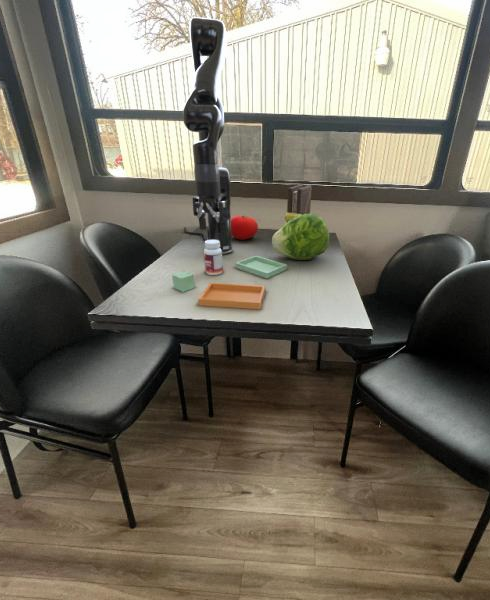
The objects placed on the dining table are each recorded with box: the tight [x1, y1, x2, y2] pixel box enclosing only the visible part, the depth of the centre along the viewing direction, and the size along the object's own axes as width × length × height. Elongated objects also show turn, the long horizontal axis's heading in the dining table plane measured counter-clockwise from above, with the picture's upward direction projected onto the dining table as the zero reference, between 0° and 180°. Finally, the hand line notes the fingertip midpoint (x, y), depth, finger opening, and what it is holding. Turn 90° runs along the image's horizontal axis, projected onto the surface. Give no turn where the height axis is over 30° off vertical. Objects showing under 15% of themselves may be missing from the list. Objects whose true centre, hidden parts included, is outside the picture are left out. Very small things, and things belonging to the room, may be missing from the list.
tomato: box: [231, 215, 259, 241], centre depth 144 cm, size 12×14×12 cm
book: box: [284, 184, 313, 223], centre depth 144 cm, size 22×8×25 cm, turn 160°
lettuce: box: [271, 213, 330, 261], centre depth 120 cm, size 19×23×18 cm
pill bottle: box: [203, 239, 224, 276], centre depth 104 cm, size 6×6×11 cm
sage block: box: [172, 270, 196, 293], centre depth 93 cm, size 4×4×4 cm
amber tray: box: [197, 282, 266, 310], centre depth 88 cm, size 18×12×2 cm, turn 87°
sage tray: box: [234, 255, 288, 279], centre depth 111 cm, size 16×12×2 cm
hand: (211, 231), depth 99 cm, fingers open, 8 cm apart
